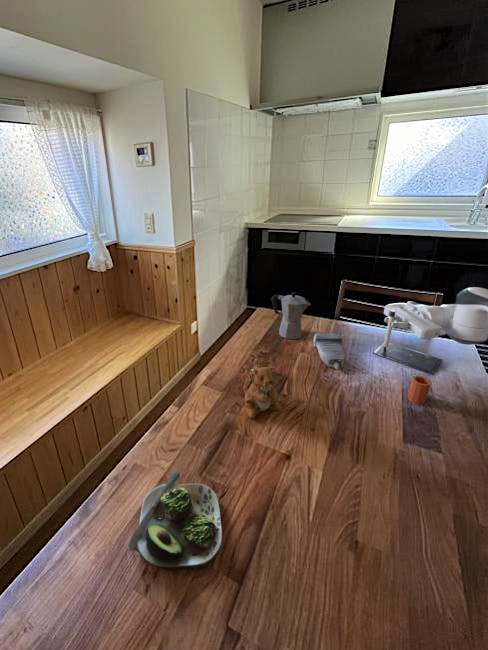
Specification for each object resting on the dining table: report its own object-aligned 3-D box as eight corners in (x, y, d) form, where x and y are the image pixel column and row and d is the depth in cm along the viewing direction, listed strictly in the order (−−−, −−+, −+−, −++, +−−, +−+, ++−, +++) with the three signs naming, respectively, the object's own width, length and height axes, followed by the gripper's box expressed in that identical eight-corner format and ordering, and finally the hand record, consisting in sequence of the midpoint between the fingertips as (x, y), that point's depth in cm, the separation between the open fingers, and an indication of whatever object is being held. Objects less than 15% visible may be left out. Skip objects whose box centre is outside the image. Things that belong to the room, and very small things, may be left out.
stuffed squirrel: (250, 421, 92) (252, 382, 87) (234, 389, 105) (234, 354, 100) (284, 415, 94) (288, 376, 89) (264, 384, 107) (266, 349, 101)
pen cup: (427, 399, 97) (433, 380, 94) (422, 407, 94) (428, 387, 91) (410, 392, 100) (415, 373, 97) (405, 400, 97) (410, 380, 94)
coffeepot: (310, 333, 134) (315, 291, 127) (302, 343, 127) (306, 300, 120) (274, 323, 143) (276, 284, 135) (264, 333, 136) (266, 292, 129)
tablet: (441, 361, 113) (442, 359, 112) (432, 376, 106) (432, 373, 106) (384, 342, 125) (384, 340, 125) (372, 354, 118) (372, 352, 118)
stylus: (388, 348, 120) (396, 310, 114) (386, 349, 119) (394, 311, 113) (383, 346, 121) (392, 309, 115) (382, 348, 120) (390, 310, 114)
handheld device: (323, 372, 110) (324, 360, 109) (310, 341, 129) (311, 330, 127) (353, 373, 109) (356, 361, 107) (336, 342, 127) (338, 331, 125)
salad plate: (142, 477, 78) (139, 462, 76) (218, 476, 77) (218, 461, 76) (125, 571, 61) (122, 556, 59) (224, 571, 60) (224, 556, 58)
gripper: (447, 342, 108) (407, 346, 107) (404, 314, 127) (369, 317, 126) (453, 324, 106) (411, 328, 105) (408, 299, 124) (372, 302, 123)
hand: (388, 322), depth 116 cm, fingers closed on stylus, 1 cm apart
